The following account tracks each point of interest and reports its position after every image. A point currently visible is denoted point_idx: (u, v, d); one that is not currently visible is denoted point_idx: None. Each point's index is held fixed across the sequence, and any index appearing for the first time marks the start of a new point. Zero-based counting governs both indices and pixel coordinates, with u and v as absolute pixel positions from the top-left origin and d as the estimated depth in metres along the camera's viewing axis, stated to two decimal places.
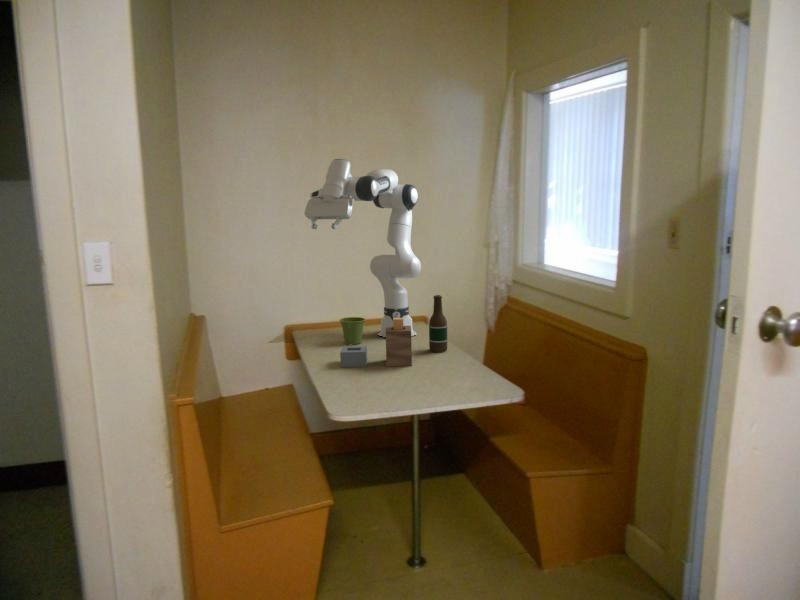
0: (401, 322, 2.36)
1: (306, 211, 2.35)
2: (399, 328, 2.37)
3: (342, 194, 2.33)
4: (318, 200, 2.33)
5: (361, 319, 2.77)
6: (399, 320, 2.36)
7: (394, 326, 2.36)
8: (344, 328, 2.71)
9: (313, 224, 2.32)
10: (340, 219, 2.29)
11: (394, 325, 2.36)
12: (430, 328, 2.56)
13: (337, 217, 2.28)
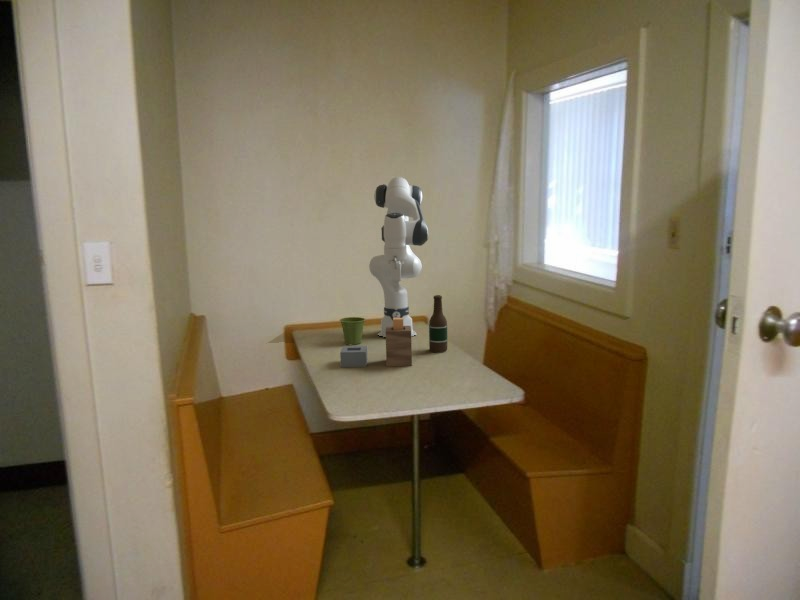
0: (401, 322, 2.36)
1: None
2: (399, 328, 2.37)
3: (396, 253, 2.29)
4: None
5: (361, 319, 2.77)
6: (399, 320, 2.36)
7: (394, 326, 2.36)
8: (344, 328, 2.71)
9: None
10: (396, 282, 2.28)
11: (394, 325, 2.36)
12: (430, 328, 2.56)
13: (393, 281, 2.29)
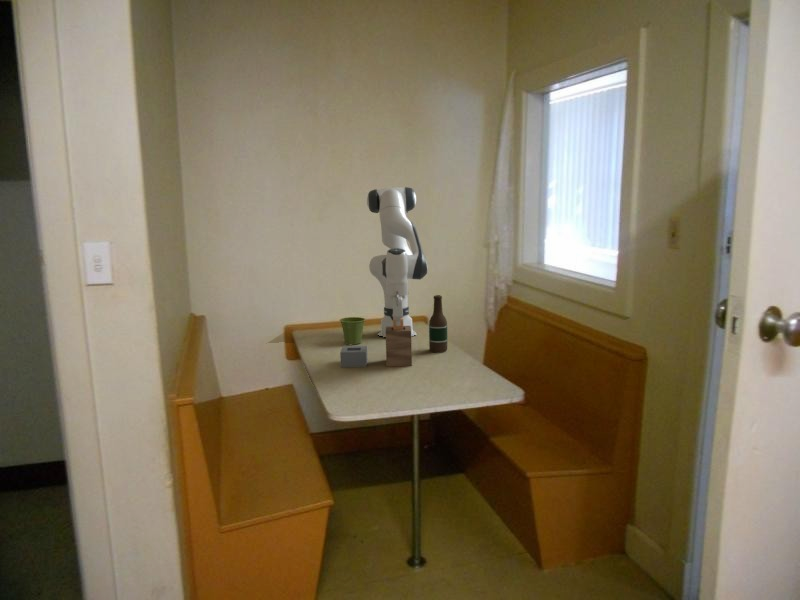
0: (401, 322, 2.36)
1: None
2: (399, 328, 2.37)
3: (398, 289, 2.31)
4: None
5: (361, 319, 2.77)
6: None
7: (394, 326, 2.36)
8: (344, 328, 2.71)
9: None
10: None
11: (394, 325, 2.36)
12: (430, 328, 2.56)
13: None
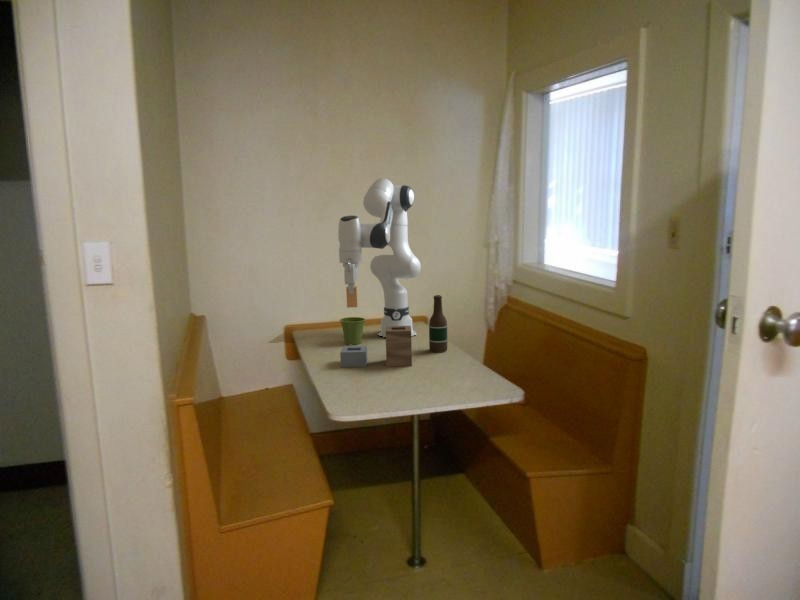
0: (354, 290, 2.34)
1: None
2: (352, 296, 2.34)
3: (350, 256, 2.29)
4: None
5: (361, 319, 2.77)
6: None
7: (347, 294, 2.34)
8: (344, 328, 2.71)
9: None
10: (351, 284, 2.31)
11: (347, 293, 2.34)
12: (430, 328, 2.56)
13: (348, 283, 2.32)
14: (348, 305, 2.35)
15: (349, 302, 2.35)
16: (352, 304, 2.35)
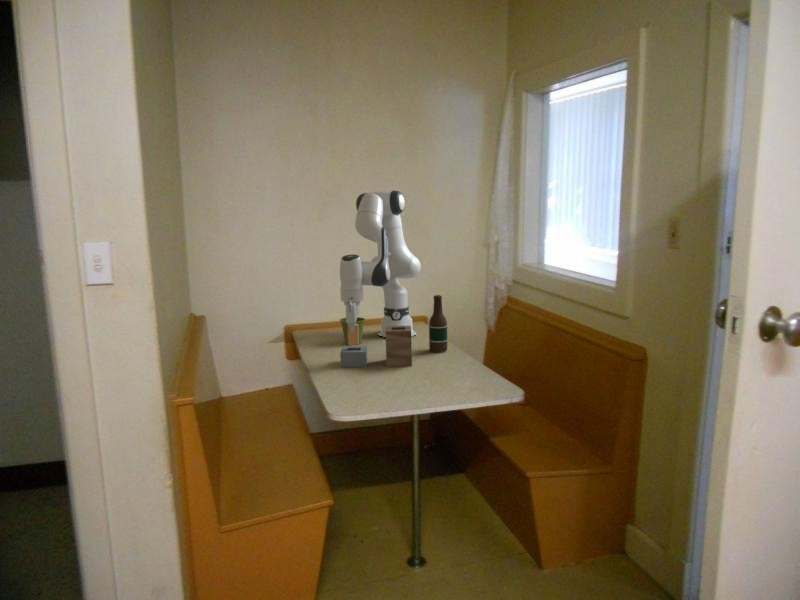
0: (356, 328, 2.36)
1: None
2: (354, 334, 2.37)
3: (351, 295, 2.31)
4: None
5: (361, 319, 2.77)
6: None
7: (349, 332, 2.37)
8: (344, 328, 2.71)
9: None
10: None
11: (349, 331, 2.37)
12: (430, 328, 2.56)
13: None
14: (349, 343, 2.37)
15: (350, 340, 2.37)
16: (353, 342, 2.37)
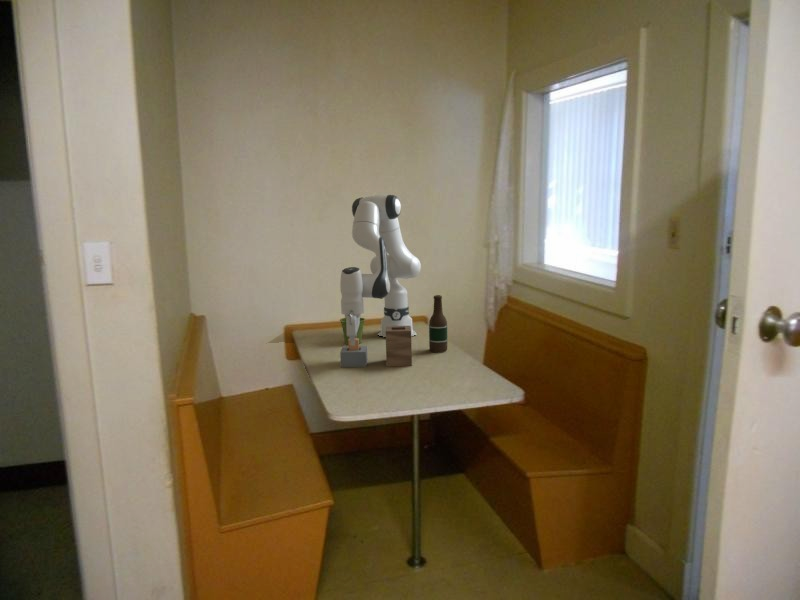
0: (356, 343, 2.38)
1: None
2: (354, 349, 2.38)
3: (352, 308, 2.32)
4: None
5: (361, 319, 2.77)
6: None
7: (349, 347, 2.38)
8: (344, 328, 2.71)
9: None
10: None
11: (349, 346, 2.38)
12: (430, 328, 2.56)
13: None
14: None
15: None
16: None
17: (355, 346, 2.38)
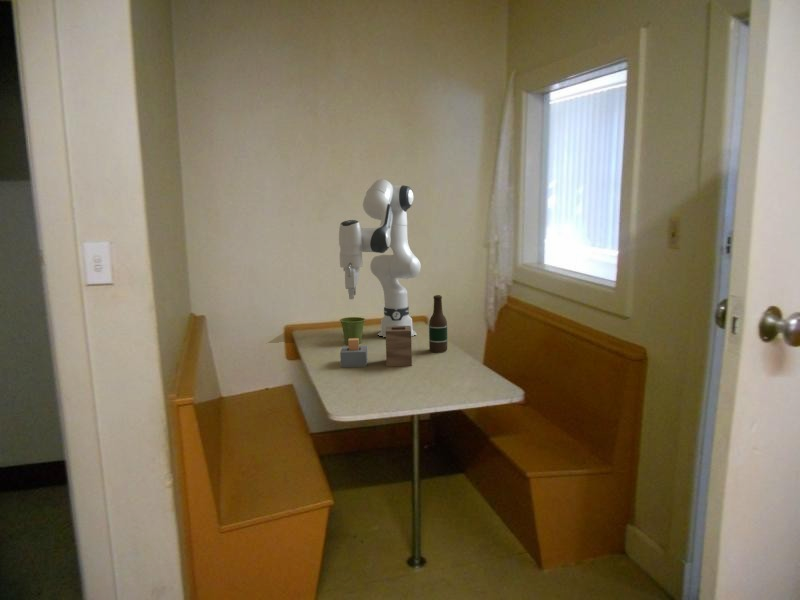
0: (356, 343, 2.38)
1: None
2: (354, 349, 2.38)
3: (351, 261, 2.29)
4: None
5: (361, 319, 2.77)
6: (354, 341, 2.37)
7: (349, 347, 2.38)
8: (344, 328, 2.71)
9: None
10: (351, 289, 2.29)
11: (349, 346, 2.38)
12: (430, 328, 2.56)
13: (348, 289, 2.30)
14: None
15: None
16: None
17: (355, 346, 2.38)
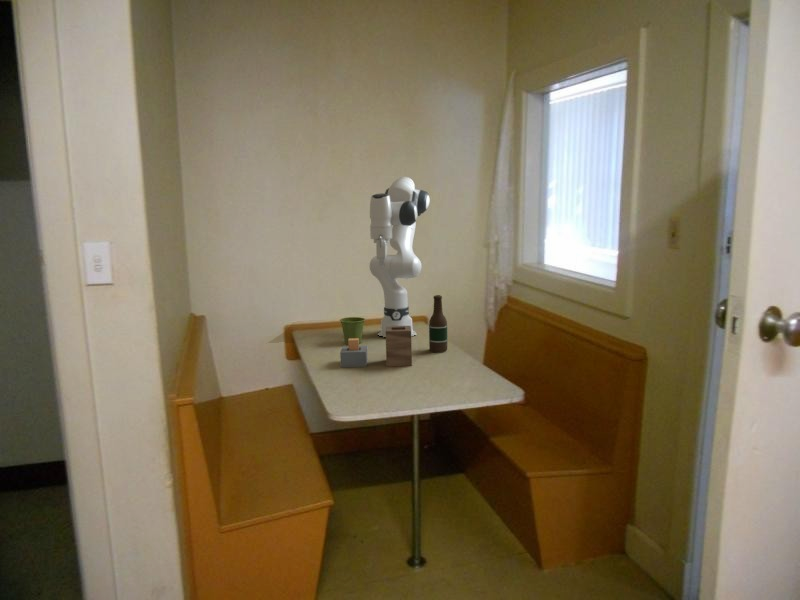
0: (356, 343, 2.38)
1: None
2: (354, 349, 2.38)
3: (381, 232, 2.37)
4: None
5: (361, 319, 2.77)
6: (354, 341, 2.37)
7: (349, 347, 2.38)
8: (344, 328, 2.71)
9: None
10: (382, 260, 2.37)
11: (349, 346, 2.38)
12: (430, 328, 2.56)
13: (378, 259, 2.38)
14: None
15: None
16: None
17: (355, 346, 2.38)
